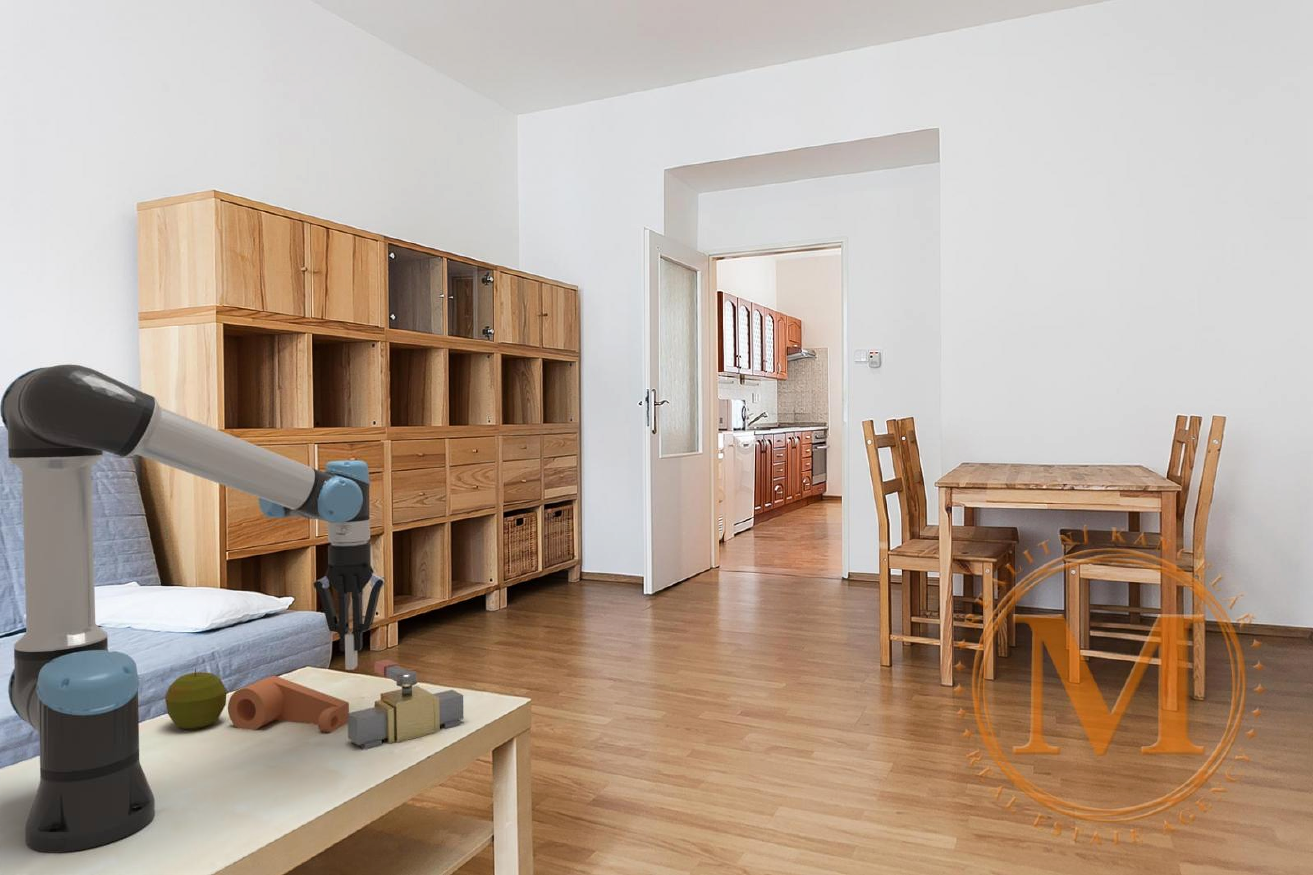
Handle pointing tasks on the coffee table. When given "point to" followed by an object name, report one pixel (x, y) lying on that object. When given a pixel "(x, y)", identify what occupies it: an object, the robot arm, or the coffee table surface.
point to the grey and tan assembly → (405, 716)
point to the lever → (396, 673)
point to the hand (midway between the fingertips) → (351, 667)
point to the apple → (195, 700)
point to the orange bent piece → (285, 705)
